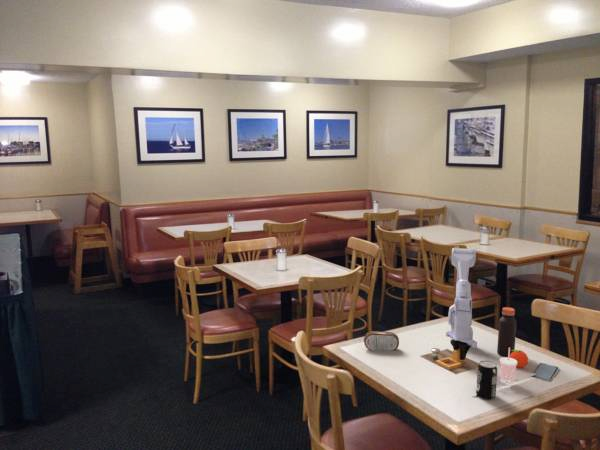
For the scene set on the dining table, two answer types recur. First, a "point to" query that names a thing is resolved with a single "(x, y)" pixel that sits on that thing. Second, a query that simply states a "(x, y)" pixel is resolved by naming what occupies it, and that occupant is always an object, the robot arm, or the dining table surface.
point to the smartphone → (545, 372)
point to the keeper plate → (446, 353)
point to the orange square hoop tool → (451, 360)
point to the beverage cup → (508, 370)
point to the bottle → (506, 332)
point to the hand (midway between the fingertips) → (460, 358)
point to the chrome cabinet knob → (435, 353)
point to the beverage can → (486, 379)
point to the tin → (381, 340)
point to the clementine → (519, 358)
